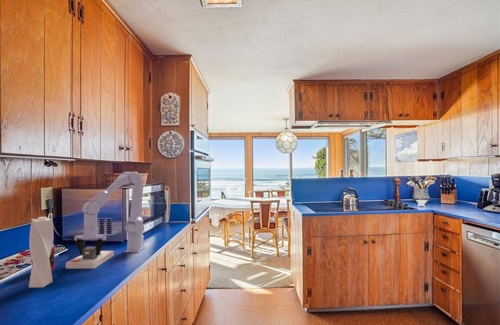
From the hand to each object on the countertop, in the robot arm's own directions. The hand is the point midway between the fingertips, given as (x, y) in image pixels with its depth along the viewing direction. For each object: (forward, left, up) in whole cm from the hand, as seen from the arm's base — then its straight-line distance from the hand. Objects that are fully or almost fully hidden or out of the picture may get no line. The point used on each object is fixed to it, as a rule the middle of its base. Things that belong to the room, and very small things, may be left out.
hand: (90, 254), depth 131 cm
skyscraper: (+25, -5, -4) cm, 26 cm away
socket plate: (-1, 0, -4) cm, 4 cm away
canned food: (+11, -15, -4) cm, 19 cm away
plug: (0, 0, -3) cm, 3 cm away
